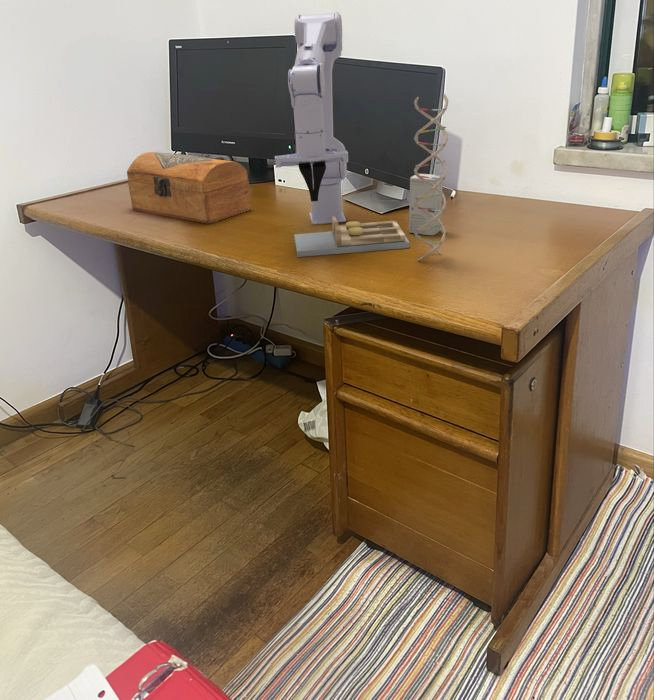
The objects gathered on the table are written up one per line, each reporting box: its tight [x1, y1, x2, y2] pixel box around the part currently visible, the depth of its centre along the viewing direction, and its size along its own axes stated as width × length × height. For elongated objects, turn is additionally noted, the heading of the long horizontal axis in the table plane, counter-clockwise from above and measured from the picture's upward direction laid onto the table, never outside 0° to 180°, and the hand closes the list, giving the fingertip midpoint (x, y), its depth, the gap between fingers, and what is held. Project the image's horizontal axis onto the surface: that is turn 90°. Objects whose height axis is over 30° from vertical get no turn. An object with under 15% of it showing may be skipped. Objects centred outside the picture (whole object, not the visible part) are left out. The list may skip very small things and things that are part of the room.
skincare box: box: [408, 173, 444, 236], centre depth 147 cm, size 6×4×12 cm
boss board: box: [293, 220, 411, 258], centre depth 144 cm, size 12×23×4 cm, turn 95°
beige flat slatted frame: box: [331, 216, 406, 246], centre depth 144 cm, size 11×14×3 cm
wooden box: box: [126, 151, 252, 225], centre depth 175 cm, size 30×16×14 cm, turn 50°
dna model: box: [413, 93, 449, 262], centre depth 128 cm, size 7×6×30 cm
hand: (314, 200), depth 140 cm, fingers closed
